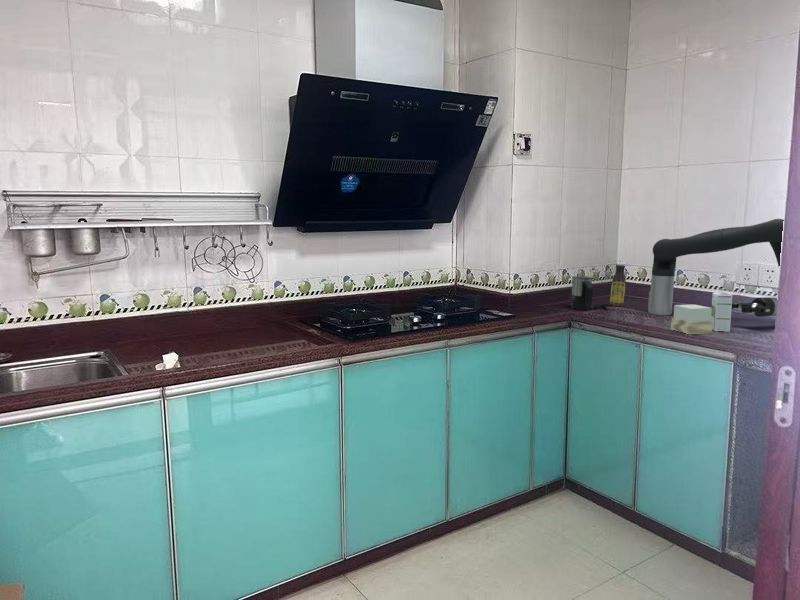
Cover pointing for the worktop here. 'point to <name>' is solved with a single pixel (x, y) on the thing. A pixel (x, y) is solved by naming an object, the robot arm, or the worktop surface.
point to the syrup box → (721, 311)
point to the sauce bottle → (618, 286)
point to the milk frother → (583, 293)
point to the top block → (692, 313)
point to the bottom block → (691, 326)
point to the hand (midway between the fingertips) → (733, 308)
